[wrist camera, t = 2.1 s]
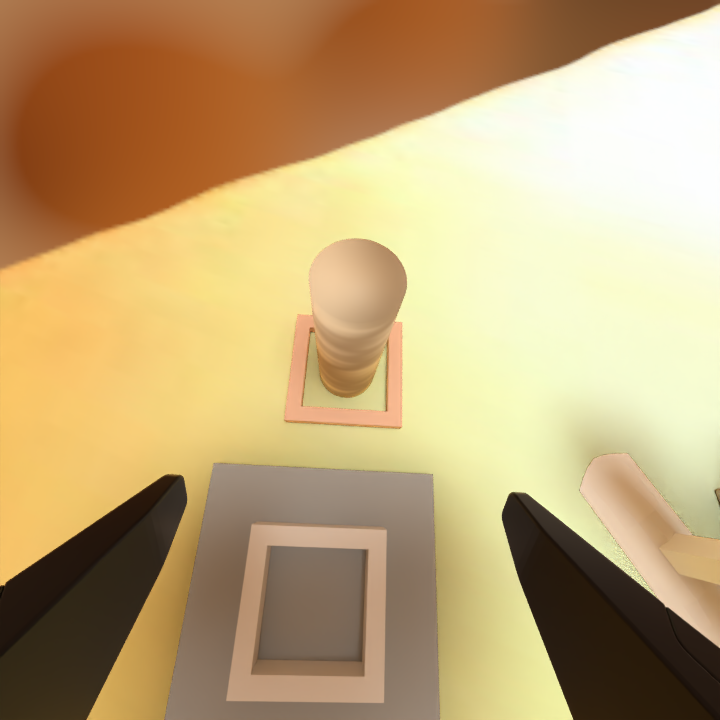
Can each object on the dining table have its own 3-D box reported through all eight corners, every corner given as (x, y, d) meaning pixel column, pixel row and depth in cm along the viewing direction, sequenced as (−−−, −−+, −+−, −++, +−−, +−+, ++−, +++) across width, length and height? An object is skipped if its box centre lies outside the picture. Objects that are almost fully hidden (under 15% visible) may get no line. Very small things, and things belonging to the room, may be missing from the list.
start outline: (285, 421, 23) (284, 419, 22) (298, 319, 26) (297, 314, 25) (399, 428, 24) (401, 426, 23) (400, 326, 26) (402, 322, 26)
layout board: (165, 751, 17) (138, 794, 15) (218, 464, 22) (205, 461, 19) (435, 752, 18) (451, 793, 15) (428, 474, 23) (439, 473, 20)
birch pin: (317, 395, 24) (303, 318, 13) (322, 344, 25) (313, 234, 14) (372, 399, 24) (407, 326, 13) (374, 348, 26) (406, 243, 14)
